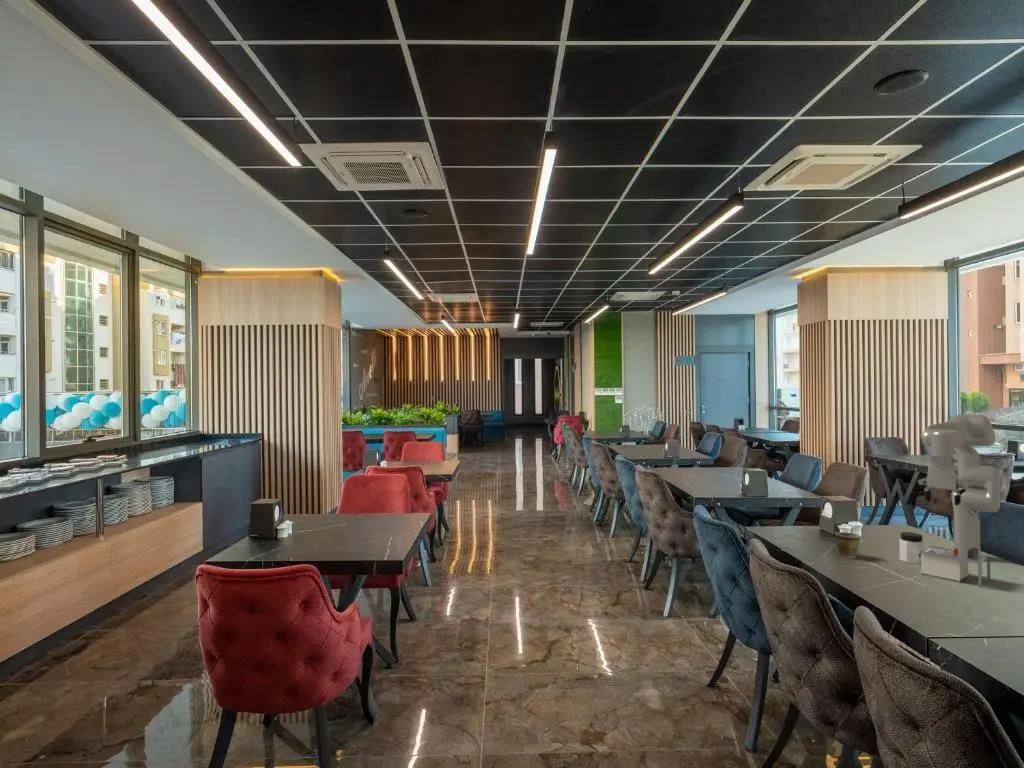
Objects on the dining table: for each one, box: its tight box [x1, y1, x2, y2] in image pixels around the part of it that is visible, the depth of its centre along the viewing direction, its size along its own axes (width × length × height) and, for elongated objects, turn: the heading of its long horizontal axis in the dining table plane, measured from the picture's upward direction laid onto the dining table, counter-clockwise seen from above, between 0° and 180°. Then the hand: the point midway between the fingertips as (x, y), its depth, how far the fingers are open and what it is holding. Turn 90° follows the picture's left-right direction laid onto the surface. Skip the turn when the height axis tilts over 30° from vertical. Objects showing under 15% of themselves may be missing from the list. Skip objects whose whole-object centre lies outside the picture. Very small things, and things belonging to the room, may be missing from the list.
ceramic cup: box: [834, 531, 861, 559], centre depth 271 cm, size 13×10×10 cm
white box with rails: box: [918, 545, 991, 589], centre depth 239 cm, size 14×22×10 cm, turn 39°
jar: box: [899, 531, 924, 565], centre depth 262 cm, size 9×8×12 cm
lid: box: [940, 547, 989, 564], centre depth 236 cm, size 11×13×4 cm
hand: (942, 502), depth 239 cm, fingers open, 9 cm apart
